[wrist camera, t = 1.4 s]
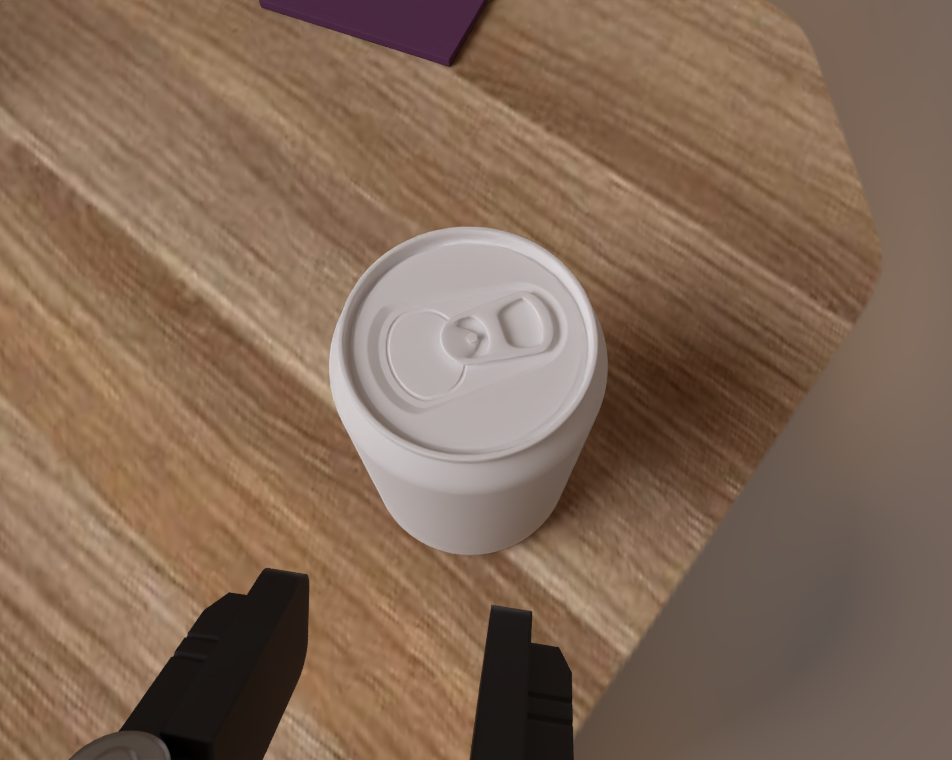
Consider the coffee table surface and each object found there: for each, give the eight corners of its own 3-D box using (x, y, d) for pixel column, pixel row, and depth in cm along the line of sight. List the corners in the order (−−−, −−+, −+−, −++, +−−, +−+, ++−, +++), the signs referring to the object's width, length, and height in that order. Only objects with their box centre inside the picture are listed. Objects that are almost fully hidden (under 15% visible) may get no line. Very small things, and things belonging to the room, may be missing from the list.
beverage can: (357, 403, 31) (292, 251, 20) (530, 355, 32) (558, 184, 21) (403, 583, 28) (356, 519, 17) (593, 524, 29) (664, 427, 18)
